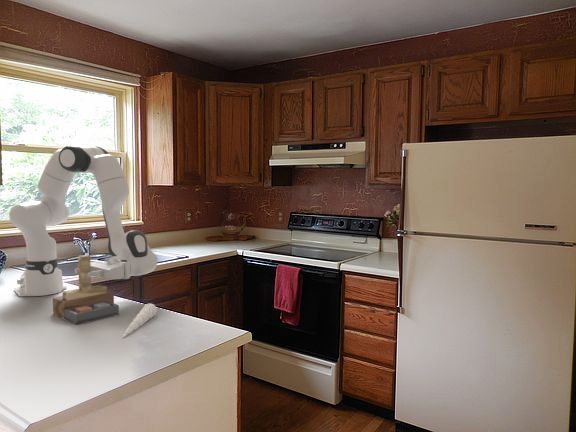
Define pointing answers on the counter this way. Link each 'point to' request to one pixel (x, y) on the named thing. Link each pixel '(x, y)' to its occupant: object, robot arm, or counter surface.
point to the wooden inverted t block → (84, 282)
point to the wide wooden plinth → (78, 302)
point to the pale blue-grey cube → (101, 305)
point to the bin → (91, 313)
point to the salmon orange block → (82, 309)
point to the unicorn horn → (141, 318)
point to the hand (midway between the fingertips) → (81, 273)
